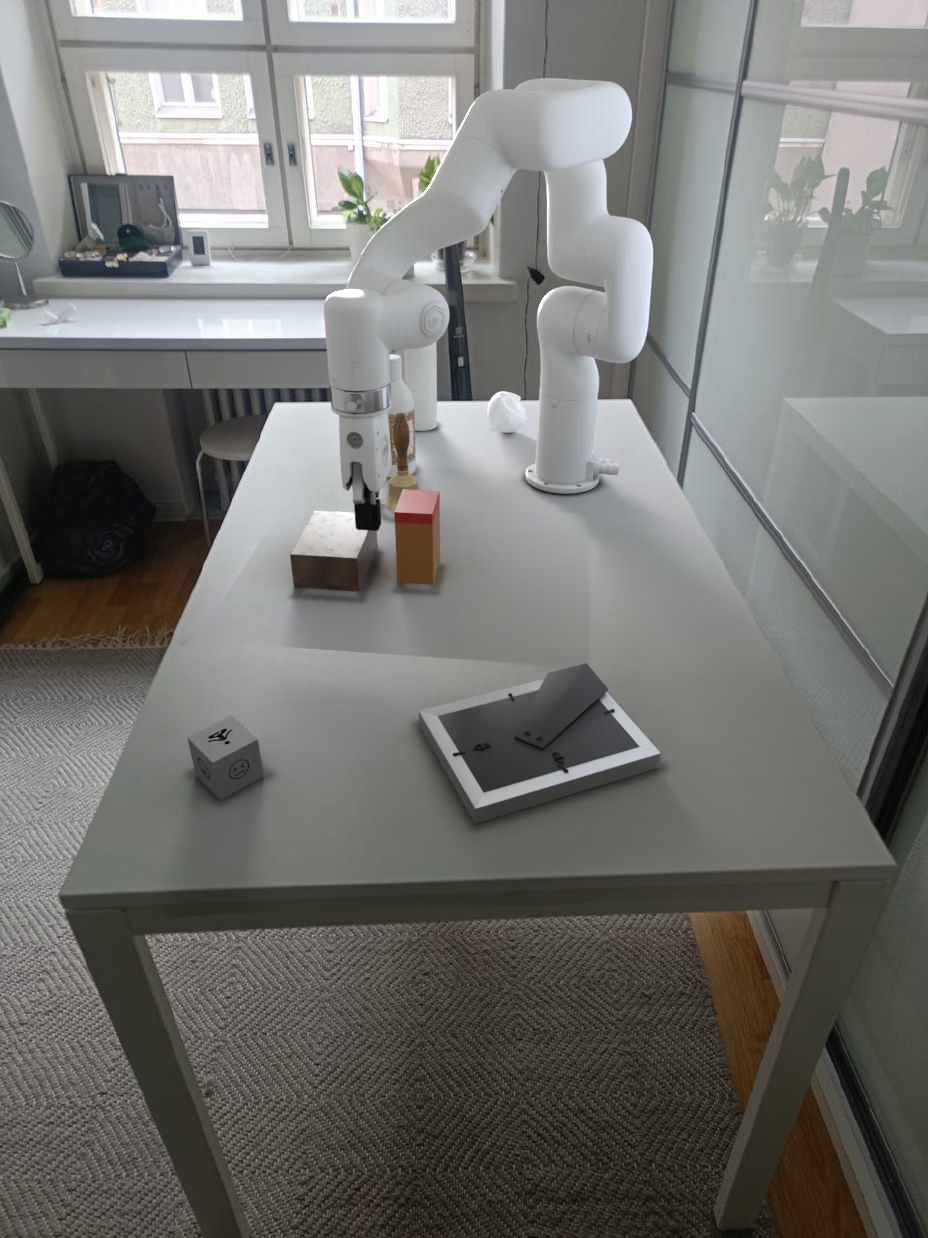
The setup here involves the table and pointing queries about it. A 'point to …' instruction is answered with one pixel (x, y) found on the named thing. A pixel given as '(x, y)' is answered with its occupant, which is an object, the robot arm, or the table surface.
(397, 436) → the hand bell
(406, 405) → the bath foam
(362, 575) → the walnut box
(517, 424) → the crumpled paper ball
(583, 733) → the picture frame
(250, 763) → the dice cube
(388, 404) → the robot arm
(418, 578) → the container
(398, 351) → the paper towel roll
